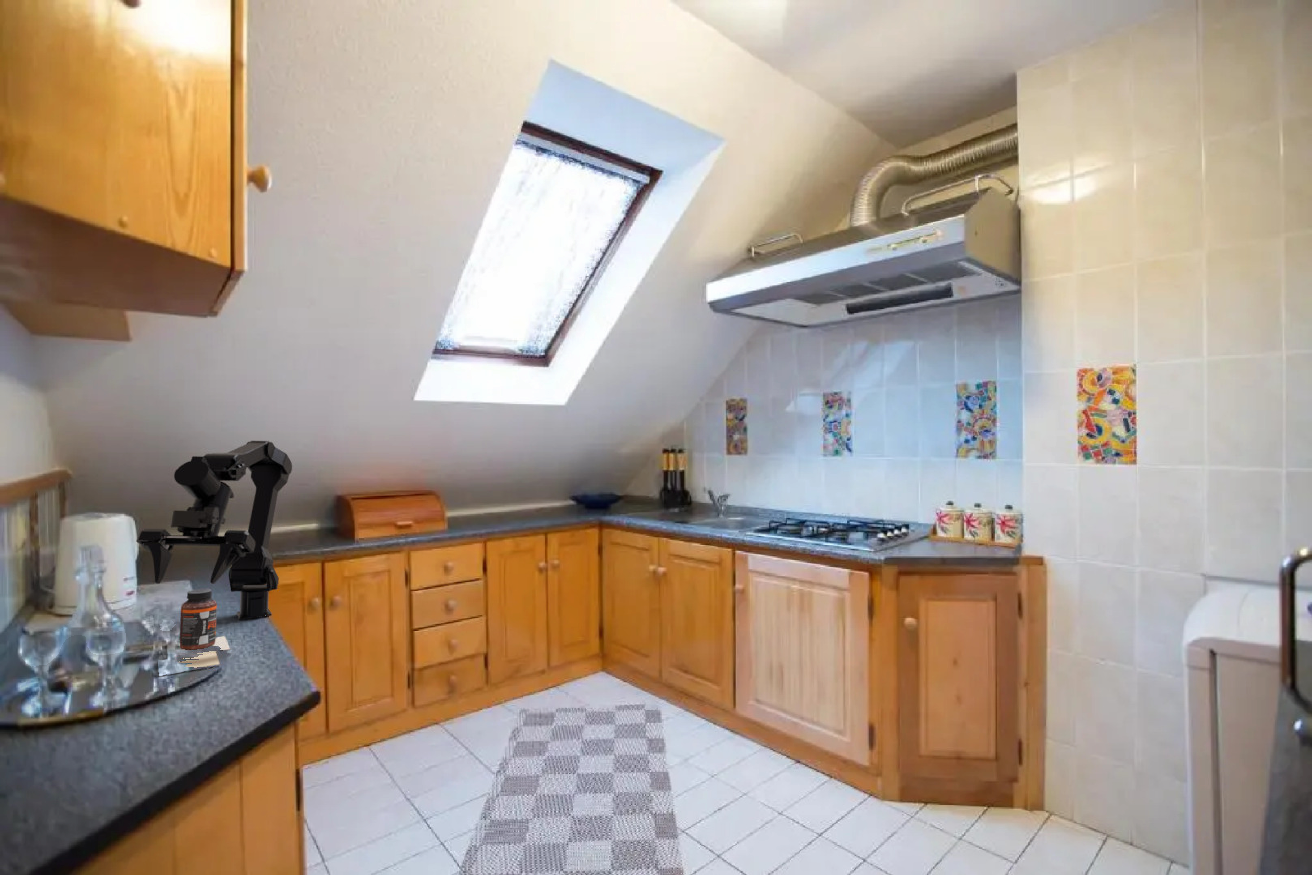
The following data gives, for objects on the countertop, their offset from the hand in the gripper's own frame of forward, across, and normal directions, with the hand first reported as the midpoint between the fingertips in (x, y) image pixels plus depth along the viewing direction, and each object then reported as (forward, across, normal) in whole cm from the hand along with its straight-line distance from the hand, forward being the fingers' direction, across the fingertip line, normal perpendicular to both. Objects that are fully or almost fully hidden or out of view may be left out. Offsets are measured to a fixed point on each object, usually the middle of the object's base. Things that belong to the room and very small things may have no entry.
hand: (184, 582), depth 121 cm
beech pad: (+14, +2, +5) cm, 15 cm away
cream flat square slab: (+8, 0, +14) cm, 17 cm away
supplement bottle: (+9, 0, +14) cm, 17 cm away
